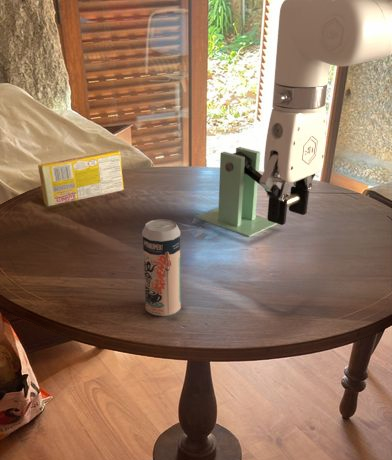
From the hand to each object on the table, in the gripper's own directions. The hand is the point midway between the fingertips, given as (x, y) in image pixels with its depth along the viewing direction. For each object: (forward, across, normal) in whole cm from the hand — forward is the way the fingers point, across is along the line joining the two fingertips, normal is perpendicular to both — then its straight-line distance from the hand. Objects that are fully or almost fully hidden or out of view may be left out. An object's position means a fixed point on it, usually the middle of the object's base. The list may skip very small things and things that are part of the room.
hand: (287, 216), depth 92 cm
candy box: (+5, -11, +39) cm, 41 cm away
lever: (-3, 0, +6) cm, 7 cm away
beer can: (+5, -29, -1) cm, 30 cm away
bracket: (+5, 0, +10) cm, 11 cm away
